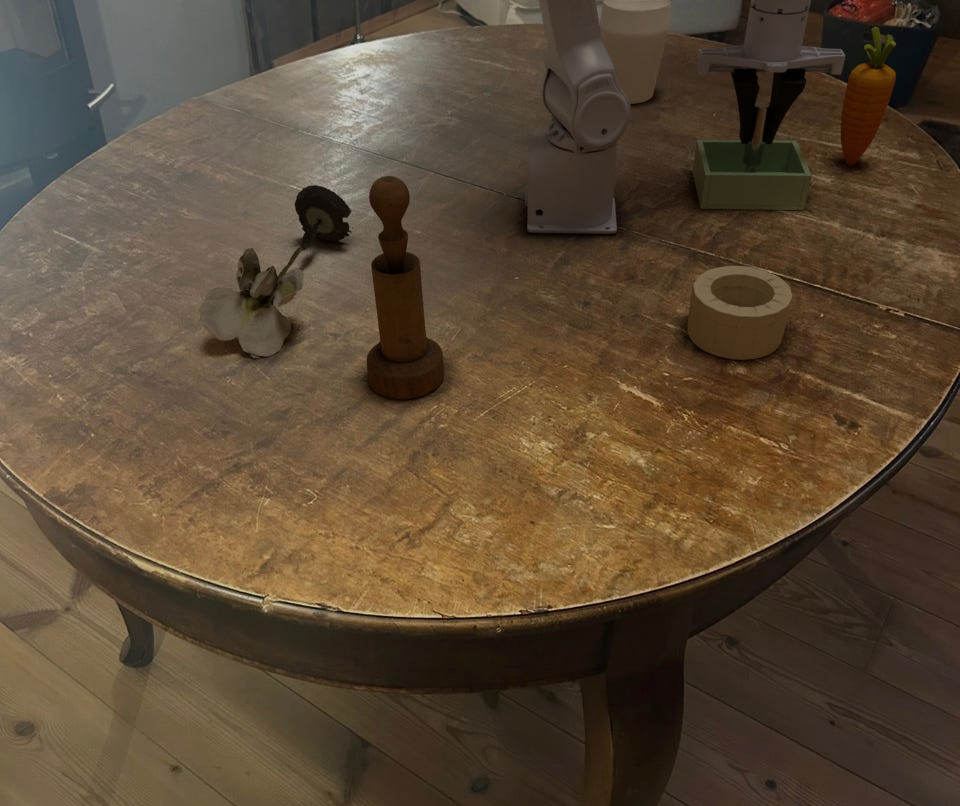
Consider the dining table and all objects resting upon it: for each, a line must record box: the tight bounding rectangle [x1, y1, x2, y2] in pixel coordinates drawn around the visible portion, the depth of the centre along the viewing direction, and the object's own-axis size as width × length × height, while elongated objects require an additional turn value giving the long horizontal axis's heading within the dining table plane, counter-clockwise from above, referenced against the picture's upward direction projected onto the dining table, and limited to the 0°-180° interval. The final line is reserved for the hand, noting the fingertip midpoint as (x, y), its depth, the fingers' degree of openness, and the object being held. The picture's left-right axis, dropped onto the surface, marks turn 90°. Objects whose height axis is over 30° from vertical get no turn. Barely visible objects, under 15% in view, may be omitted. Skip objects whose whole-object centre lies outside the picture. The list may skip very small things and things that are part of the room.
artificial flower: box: [198, 184, 354, 359], centre depth 88 cm, size 9×22×10 cm, turn 160°
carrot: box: [840, 26, 897, 167], centre depth 104 cm, size 5×5×15 cm
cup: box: [599, 0, 672, 105], centre depth 123 cm, size 9×9×12 cm
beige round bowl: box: [686, 265, 794, 361], centre depth 83 cm, size 8×8×4 cm
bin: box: [692, 139, 813, 211], centre depth 104 cm, size 11×9×4 cm
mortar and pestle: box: [366, 175, 445, 400], centre depth 74 cm, size 7×6×18 cm
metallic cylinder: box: [743, 100, 772, 173], centre depth 102 cm, size 2×3×9 cm
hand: (755, 140), depth 101 cm, fingers closed on metallic cylinder, 2 cm apart
